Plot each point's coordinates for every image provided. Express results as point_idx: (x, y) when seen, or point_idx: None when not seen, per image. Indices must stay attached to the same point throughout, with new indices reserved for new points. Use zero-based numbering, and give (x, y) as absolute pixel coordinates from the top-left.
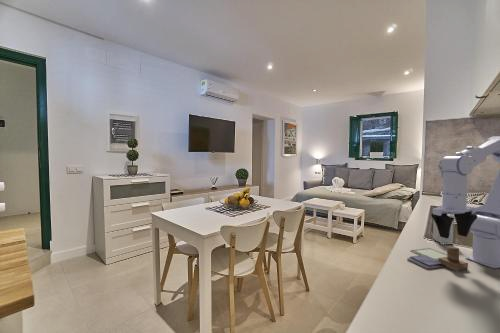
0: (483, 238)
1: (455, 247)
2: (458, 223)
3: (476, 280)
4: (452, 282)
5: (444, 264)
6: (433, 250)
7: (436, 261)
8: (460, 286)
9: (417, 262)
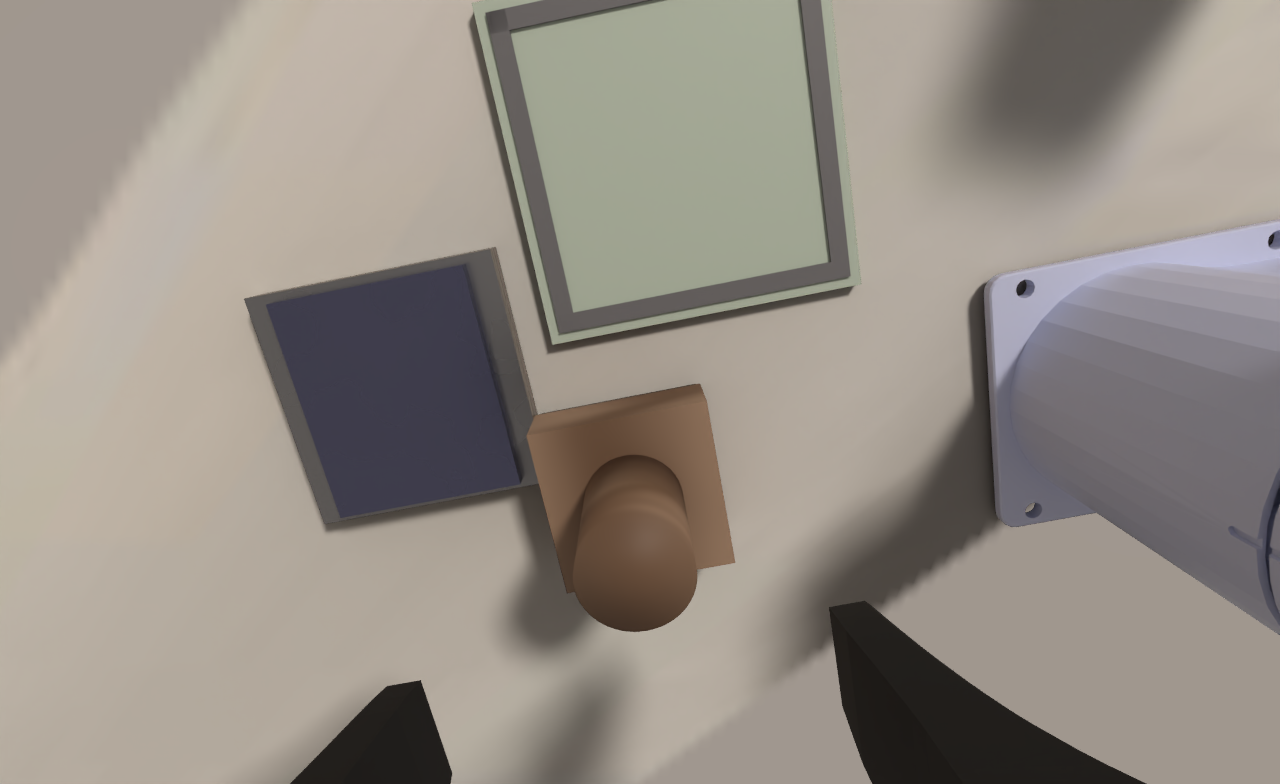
0: (1249, 574)
1: (681, 564)
2: (933, 779)
3: (611, 688)
4: None
5: None
6: (792, 38)
7: (491, 440)
8: None
9: (289, 420)
